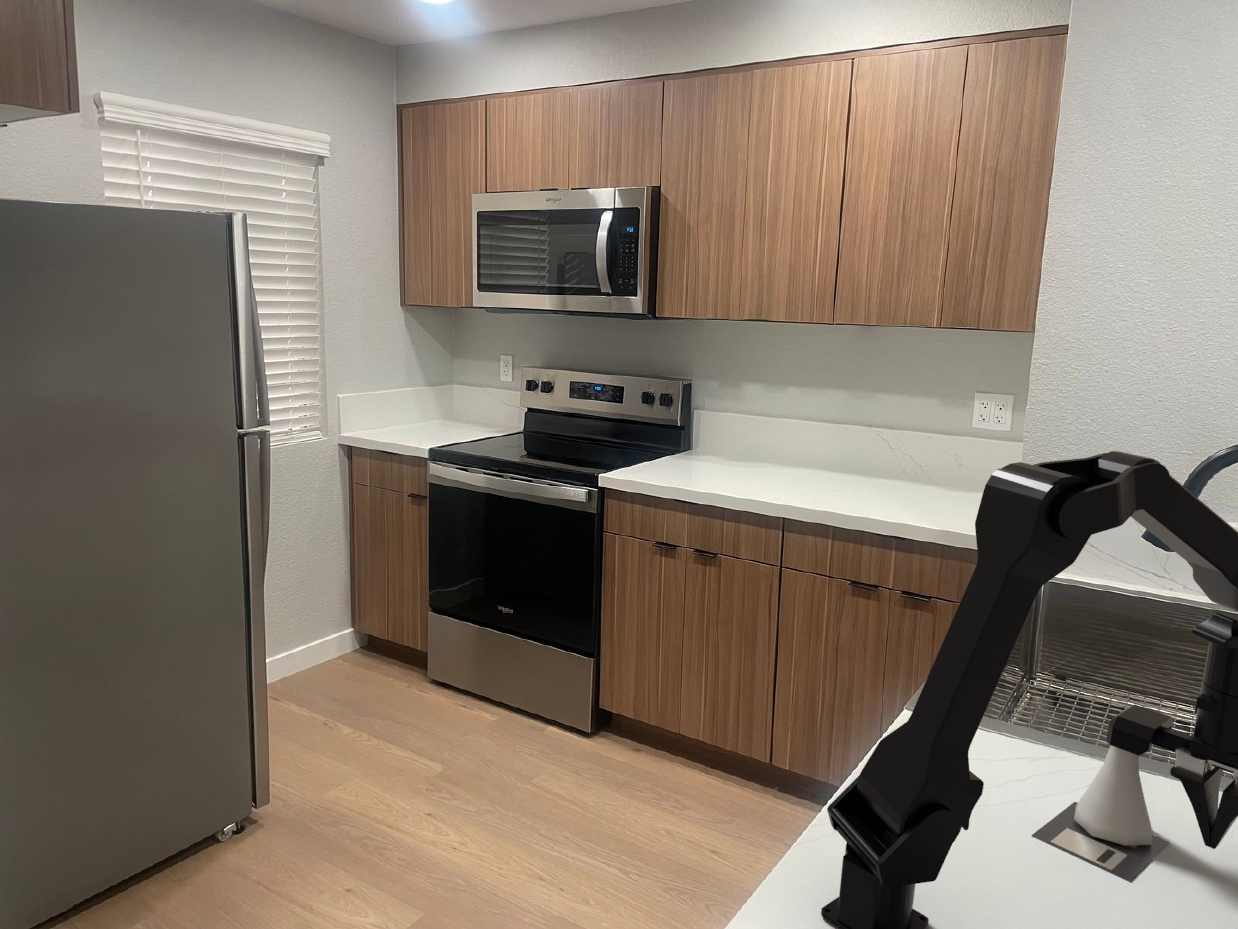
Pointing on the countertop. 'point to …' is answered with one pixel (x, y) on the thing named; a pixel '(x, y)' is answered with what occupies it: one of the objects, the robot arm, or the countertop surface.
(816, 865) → the countertop surface
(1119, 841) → the flask
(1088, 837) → the floppy disk
